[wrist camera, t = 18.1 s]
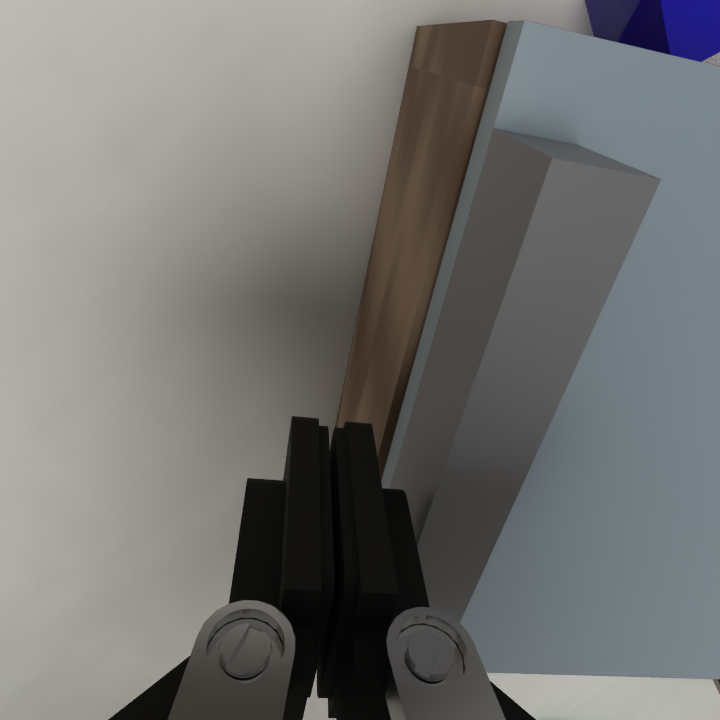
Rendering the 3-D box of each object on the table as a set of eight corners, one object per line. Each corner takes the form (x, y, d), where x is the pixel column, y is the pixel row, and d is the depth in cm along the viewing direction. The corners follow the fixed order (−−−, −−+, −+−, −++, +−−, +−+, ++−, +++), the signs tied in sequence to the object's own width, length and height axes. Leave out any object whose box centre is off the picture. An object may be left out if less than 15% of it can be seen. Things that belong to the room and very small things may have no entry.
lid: (721, 656, 19) (791, 763, 17) (336, 642, 17) (341, 762, 14) (1156, 173, 11) (1450, 221, 8) (508, 22, 9) (602, 16, 6)
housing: (613, 497, 26) (712, 648, 20) (325, 472, 24) (331, 633, 17) (831, 120, 18) (1131, 168, 11) (417, 26, 15) (492, 19, 9)
